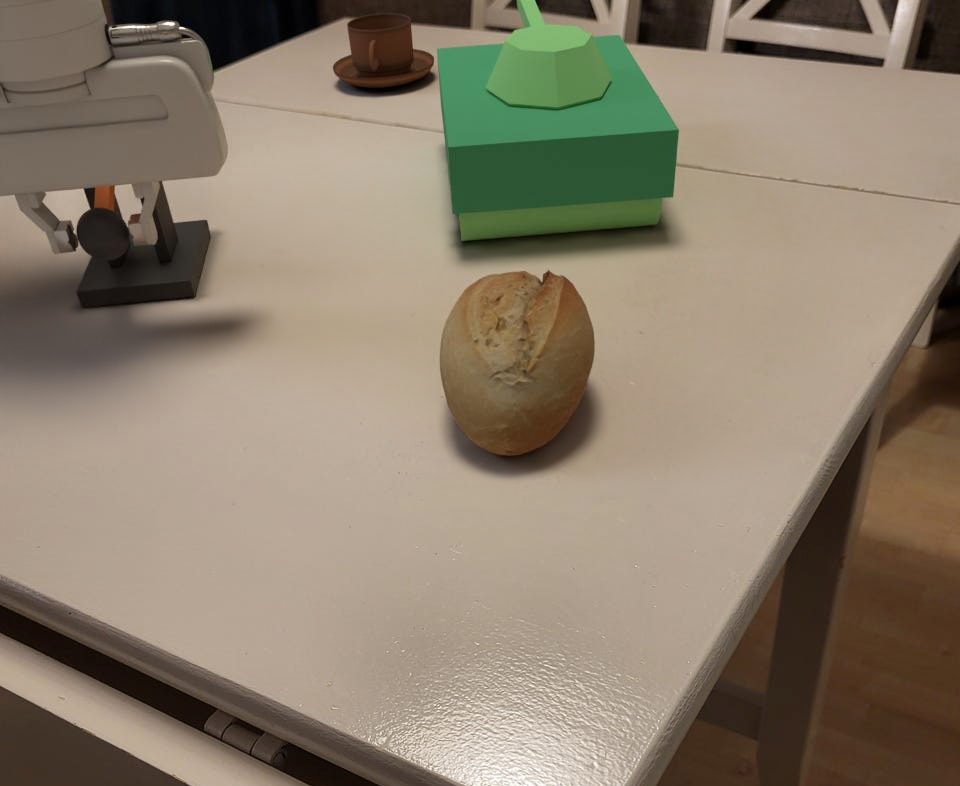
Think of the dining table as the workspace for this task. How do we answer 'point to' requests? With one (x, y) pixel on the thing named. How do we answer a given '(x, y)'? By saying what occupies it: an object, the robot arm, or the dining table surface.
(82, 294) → the stand with upright posts
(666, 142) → the toy tank
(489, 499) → the dining table surface
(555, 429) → the bread roll
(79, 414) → the dining table surface
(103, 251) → the pendulum
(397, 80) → the cup and saucer
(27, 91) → the robot arm
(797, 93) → the dining table surface
